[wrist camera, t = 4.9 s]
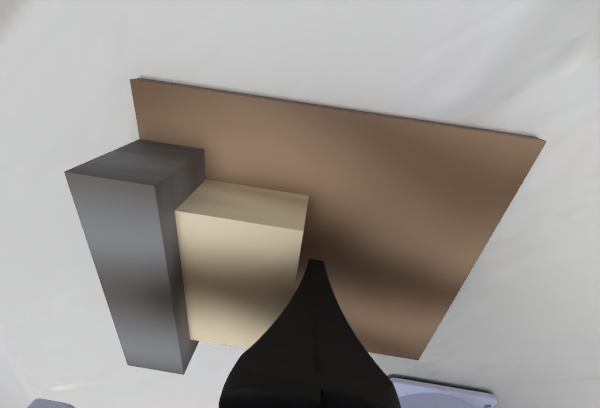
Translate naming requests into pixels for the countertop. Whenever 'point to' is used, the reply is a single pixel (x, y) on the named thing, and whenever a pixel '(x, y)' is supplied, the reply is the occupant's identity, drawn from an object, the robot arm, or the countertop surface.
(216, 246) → the cream wooden block
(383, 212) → the board
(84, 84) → the countertop surface
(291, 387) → the robot arm
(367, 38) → the countertop surface
